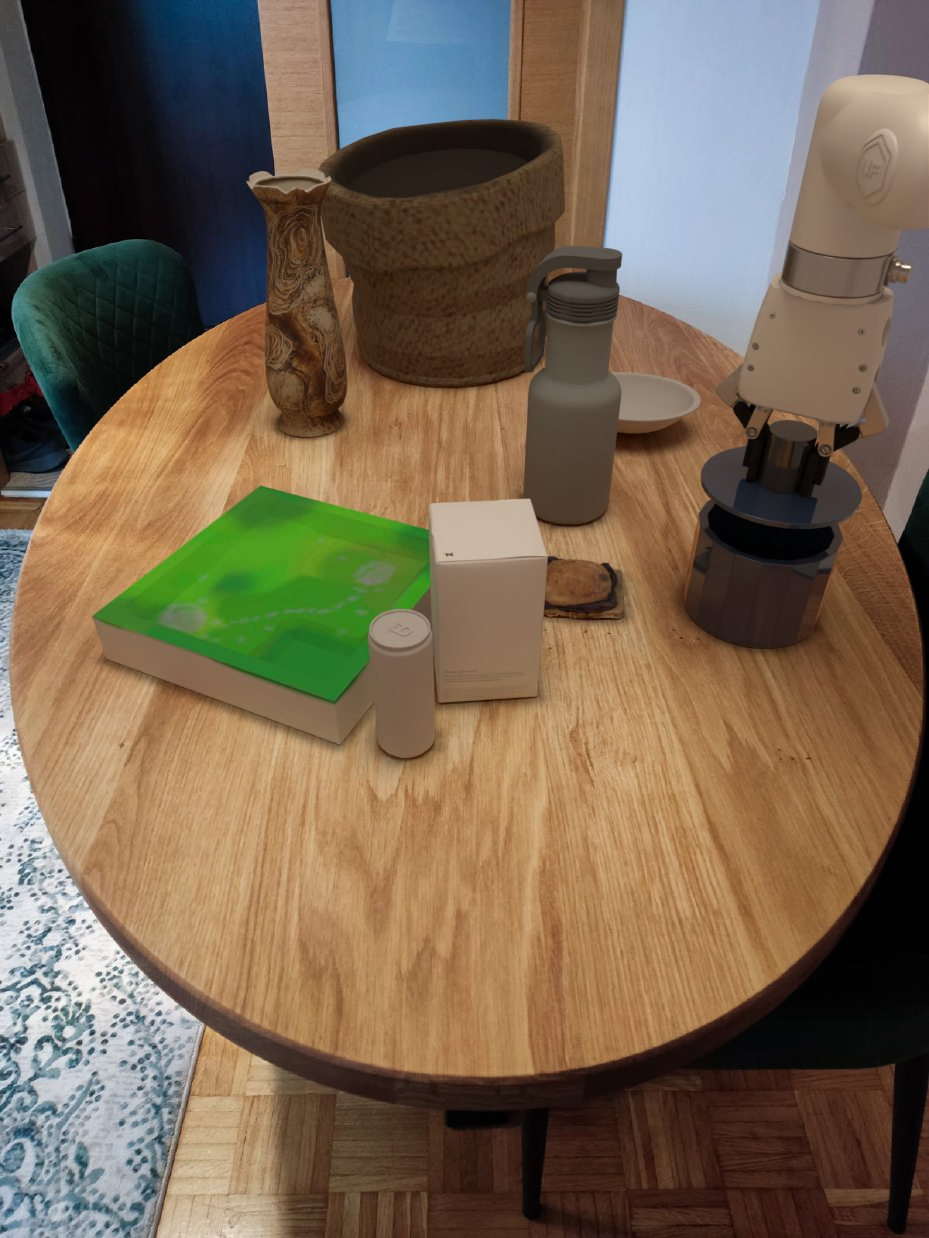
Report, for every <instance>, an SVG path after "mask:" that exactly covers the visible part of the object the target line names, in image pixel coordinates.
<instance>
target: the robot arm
mask: <svg viewBox="0 0 929 1238" xmlns="http://www.w3.org/2000/svg"><path fill="white" fill-rule="evenodd" d="M925 229H926V230H927V229H929V83H928V82H926V81H925V80H922V79H918V78H913V77H908V76H902V75H891V74H857V75H855V74H854V75H848V76H844V77H841V78H838V79H836V80H835V81H833V82H832V83H830V84H829V86H827V88H826V89H825V90H824V92H823V94H822V95H821V98H820V100H819V103H818V107H817V111H816V115H815V120H814V124H813V128H812V134H811V138H810V141H809V146H808V151H807V156H806V160H805V164H804V169H803V173H802V177H801V182H800V186H799V192H798V196H797V200H796V204H795V209H794V215H793V218H792V222H791V228H790V232H789V238H788V242H787V246H786V250H785V254H784V260H783V264H782V269H781V272H779V273H776V274H774V275H773V277H772V279H771V280H770V283H769V285H768V287H767V290H766V292H765V295H764V297H763V299H762V302H761V305H760V308H759V310H758V313H757V315H756V319H755V322H754V325H753V328H752V332H751V334H750V338H749V341H748V344H747V348H746V351H745V355H744V359H743V362H741V364H740V365H738V367H736V368H735V369H734V370H733V371H732V372H731V373H730V374H729V375H728V376H727V377H726V378H724V380H723V381H721V383H720V384H719V385H718V386H717V388H716V390H715V393H716V395H717V396H718V397H719V398H720V400H721V401H722V402H723V403H725V404H726V405H727V406H728V407H729V408H731V409H732V410H733V414H734V415H735V417H736V418H737V420H738V421H739V423H740V424H741V425H742V426H743V428H744V434H745V436H746V438H747V441H746V442H747V443H746V445H745V446H746V451H745V455H744V460H743V466H745V467H748V471H747V475H746V481H749V482H752V481H755V479H756V478H757V476H758V471H759V467H760V463H761V459H762V455H763V450H764V446H765V442H766V438H767V434H768V429H769V426H770V424H769V420H770V419H771V416H772V415H773V412H774V411H777V412H781V413H784V414H790V415H794V416H798V417H803V418H807V419H812V420H817V421H819V422H818V437H817V441H816V444H815V447H814V449H813V450H812V452H811V454H810V456H809V459H808V462H807V466H806V470H805V473H804V477H803V481H802V484H801V488H800V492H799V493H801V495H802V496H806V497H807V496H808V494H809V493H810V491H811V489H812V487H813V485H814V484H815V485H819V486H821V484H822V482H823V480H824V477H825V474H826V470H827V467H828V463H829V461H830V460H831V456H832V455H833V453H834V452H836V451H838V450H840V449H842V448H845V447H846V446H849V445H850V444H852V443H854V442H856V441H858V440H859V439H865V438H868V437H872V436H875V435H878V434H882V433H884V432H885V431H886V430H887V428H888V426H889V424H890V418H889V415H888V412H887V410H886V407H885V405H884V402H883V399H882V396H881V394H880V390H879V388H878V386H877V382H878V379H879V375H880V371H881V367H882V363H883V360H884V356H885V353H886V346H887V343H888V339H889V335H890V329H891V323H892V317H893V311H894V310H893V309H894V301H895V300H894V299H895V293H894V291H893V290H891V289H890V288H888V287H889V286H890V284H896V283H902V284H907V283H908V282H909V279H910V277H911V274H912V272H913V267H914V263H910V262H909V263H908V262H904V260H902V259H899V255H896V254H897V253H898V252H897V251H898V245H899V241H900V237H901V233H902V231H903V232H904V231H916V230H925ZM863 413H864V415H865V417H864V418H861V416H862V415H863Z"/></svg>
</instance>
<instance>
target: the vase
mask: <svg viewBox="0 0 929 1238" xmlns="http://www.w3.org/2000/svg"><path fill="white" fill-rule="evenodd" d="M331 182H332V181H331V177H330V176H329V177H327V178H326V176H325V174H324V173H323V172H321V171H319V170H318V169H314V168H313V169H312V168H300V169H298V170H297V171H296V172H295V174H292V173H290V172H288V171H287V170H285V169H280V170H278V171H277V172H276V174H275V175H272V174H271V173H269V172H268V171H264V170H262V171H257V172H254V173H252V174H250V175H249V178H248V180H246V181H245V183H246V184H247V186H248V187H249V189H250V191H251V192H252V193H253V195H254V197H255V198H256V199H257V201H258V202H259V204H260V206H261V207H262V209H263V213H264V218H265V226H266V297H265V298H266V300H265V301H266V302H265V333H264V334H265V336H264V364H265V365H264V366H265V367H264V368H265V377H266V383H267V388H268V393H269V395H270V399H271V401H272V403H273V404H274V405H275V407H276V408H277V409H278V410H279V411H281V415H280V417H279V418H278V421H277V427H278V429H279V430H281V431H282V432H283V433H284V434H288V435H291V436H295V437H297V436H298V437H301V438H302V437H303V438H313V437H320V436H326V435H328V434H331V433H334V432H336V431H338V430H340V429H341V428H342V427H343V426H344V424H345V421H346V420H345V417H344V415H343V414H342V412H341V411H340V408H341V407H342V405H343V404H344V402H345V400H346V397H347V391H348V365H347V357H346V351H345V350H346V349H345V345H344V340H343V334H342V329H341V324H340V319H339V315H338V314H339V313H338V308H337V304H336V299H335V294H334V289H333V284H332V281H331V274H330V269H329V264H328V257H327V253H326V246H325V240H324V239H325V238H324V231H323V224H322V219H321V204H322V202H323V199H324V197H325V195H326V193H327V191H328V188H329V186H330V184H331Z"/></svg>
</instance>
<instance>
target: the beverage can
mask: <svg viewBox="0 0 929 1238" xmlns="http://www.w3.org/2000/svg"><path fill="white" fill-rule="evenodd" d="M368 645H369V655H370V666H371V677H372V688H373V699H374V703H373V707H374V719H375V720H374V721H375V731H376V740H377V743H378V745H379V746H380V748H381V749H382V750H383V751H385V752H386V753H387V754H389V755H391V756H394V757H396V758H401V759H410V758H415V757H417V756H420V755H422V754H425V752H427V751H428V750H429V749H430V748H431V747H432V745H433V744H434V742H435V739H436V720H435V719H436V712H435V711H436V710H435V709H436V707H435V674H434V673H435V667H434V655H433V636H432V629H431V628H430V623H429V621H428V619H427V618H426V617H425V616H424V615H422V614H421V613H419V612H416V611H414V610H409V609H394V610H389V611H386V612H384V613H381V614H380V615H378V616H376V617H375V619H374V620H373V621H372V622H371V624H370V627H369V633H368Z"/></svg>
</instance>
